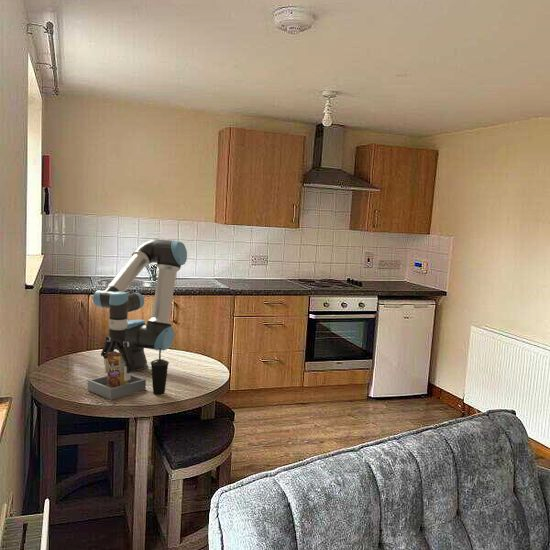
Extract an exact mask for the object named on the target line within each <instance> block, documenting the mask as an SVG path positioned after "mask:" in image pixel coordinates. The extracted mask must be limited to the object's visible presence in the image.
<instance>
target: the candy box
mask: <svg viewBox="0 0 550 550" xmlns="http://www.w3.org/2000/svg"><path fill="white" fill-rule="evenodd" d="M125 365H126V364H125V362H124V359H123V357H122V355H121V353H119V351H117V350H116V351H115V350H114V351H112V352H108V365H107V366H108V367H107V373H106V374H107V375H106V376H107V386H108V387H111V388H114V387H118V386H121V385H125V384H127V381H124V366H125Z"/></svg>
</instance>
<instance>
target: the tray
mask: <svg viewBox="0 0 550 550" xmlns="http://www.w3.org/2000/svg"><path fill="white" fill-rule="evenodd" d="M146 382H147V379H145V378H142V377H140V376H136V375H133V374H131V379H130V380H127V384H125V385H121V386H118V387H114V388H111V387H108V386H107V375H103V376H99V377H96V378H91V379H88V380H87V391H88V392H90V391H91V393H93V394H95V393H96V395H98V394H99V395H98V396H100V395H101V397H103V398H105V399H108V400H111V401H112V400H115V399H116V400H117V399H119V398H122V397H126V396H129V395H131V394H132V395H133V394H135V392H136V393H138V391H139V392H142V391H145V390H147V389H146V386H147V384H146Z"/></svg>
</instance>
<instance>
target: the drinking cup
mask: <svg viewBox="0 0 550 550" xmlns="http://www.w3.org/2000/svg"><path fill="white" fill-rule="evenodd" d="M158 351H159V352H158V358H157V359H154V360H152V361H150V365H151V366H150V367H151V368H150V369H151V382H152V394H153V395H156V396H162V394H163V395H164V394H165V392H166V384H167V377H168V367H169V364H170V362H169V361H168V360H166V359H161V358H162V357H161V356H162V355H161V354H162V350H161V348H159V350H158Z"/></svg>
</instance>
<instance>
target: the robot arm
mask: <svg viewBox="0 0 550 550" xmlns="http://www.w3.org/2000/svg"><path fill="white" fill-rule="evenodd" d="M187 260H188V252H187V248H186V245H185V244H184V243H183V242H182V241H179V240H174V239H173V240H170V239H169V240H168V239H157V238H156V239H150V240H147V241H146V242H145V241H144V243H142V244H140V245H139V246H138V247H137V248H136V249H135V250H134V251H133V252H132V253H131V257H130V259H129V260H128V261H127V262H126V264H125V265H124V266H123V267H122V268H121V269H120V271H119V272H118V273H117V274H116V275H115V277H113V279H112V280H111V281H110V282H109V283H108V285H107V286H106V287H105V288H104V290H102V289H98V290H96V291H95V292H94V293H93V296H92V302H93V305H94V306H96V307H99V308H102V309H109V314H108V315H109V317H108V319H109V322H108V323H109V324H108V327H109V329H108V336H106V337H105V342H104V345H103V347H102V349H101V350H102V351H101V353H100V356H101V357H102V358H103V362H104V363H103V365H104V368H103V369H104V370H103V371H104V374H107V367H108V366H107V365H108V352H112V351H115V350H116V351H117V352H119V353H121V355H122V357H123V359H124V362H125V364H126V365H125V366H124V381H127V380H130V379H131V375H132V374H131V373H132V372H133V371H141V370H144V369H145V368H147V367H148V359H147V357H146V354H145V349H149V350H155V351H159V348H161V351H167V350H168V349H169V348H170V347H171V346H172V345H173V342H174V339H175V329H174V328H173V327H172V322H171V321H170V316H171V315H170V314H171V309H172V303H173V296H174V291H175V285H176V284H175V283H176V280H177V279H176V277H177V272H179V271H180V270H181V267H182V266H183V265H185V264H186V262H187ZM152 263H156V266H157V268H158V276H157V281H156V286H155V293H154V299H153V305H152V310H151V317H150V318H148V319H147V320H146V321H147V322H145V320H144V319H129V318H128V313H130V312H134V311H138V310H140V309H142V308H143V307H144V305H145V298H144V296H143V294H141V293H139V292H132V293H127V292H126V291H127V289H128V288H129V286H130V285H131V284H132V282H133V281H134V280H135V279H136V278H137V276H138V275H139V274H140V273H141V272H142V270H143V269H144V268H146V267H148V266H149V265H150V264H152ZM128 319H129V320H128ZM140 369H141V370H140Z"/></svg>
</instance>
